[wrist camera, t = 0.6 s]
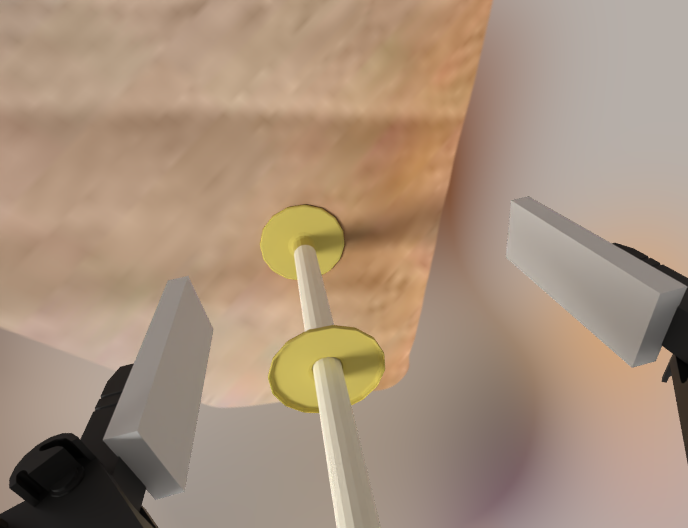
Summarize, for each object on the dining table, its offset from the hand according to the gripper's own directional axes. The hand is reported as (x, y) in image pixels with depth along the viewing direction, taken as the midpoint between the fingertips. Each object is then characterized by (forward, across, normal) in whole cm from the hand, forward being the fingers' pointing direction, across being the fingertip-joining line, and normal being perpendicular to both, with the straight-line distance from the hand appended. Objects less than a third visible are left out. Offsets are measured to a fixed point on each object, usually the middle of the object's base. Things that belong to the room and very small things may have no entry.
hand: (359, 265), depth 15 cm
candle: (+26, -3, -12) cm, 29 cm away
